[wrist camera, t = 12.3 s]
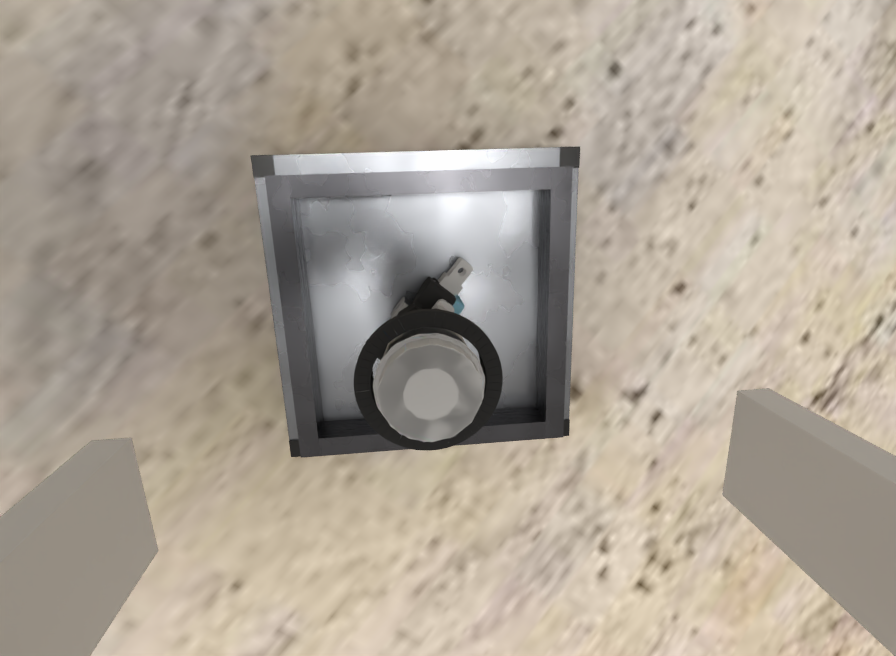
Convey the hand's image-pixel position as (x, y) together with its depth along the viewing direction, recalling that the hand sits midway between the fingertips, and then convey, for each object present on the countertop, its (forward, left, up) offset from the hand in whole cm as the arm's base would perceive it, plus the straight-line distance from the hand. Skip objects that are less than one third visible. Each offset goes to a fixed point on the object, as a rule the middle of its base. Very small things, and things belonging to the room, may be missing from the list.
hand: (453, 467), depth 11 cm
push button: (0, 0, -16) cm, 16 cm away
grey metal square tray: (0, 0, -17) cm, 17 cm away
